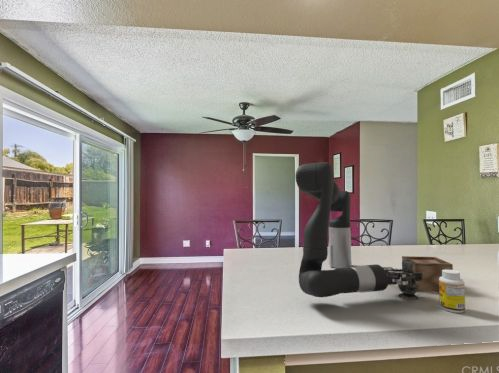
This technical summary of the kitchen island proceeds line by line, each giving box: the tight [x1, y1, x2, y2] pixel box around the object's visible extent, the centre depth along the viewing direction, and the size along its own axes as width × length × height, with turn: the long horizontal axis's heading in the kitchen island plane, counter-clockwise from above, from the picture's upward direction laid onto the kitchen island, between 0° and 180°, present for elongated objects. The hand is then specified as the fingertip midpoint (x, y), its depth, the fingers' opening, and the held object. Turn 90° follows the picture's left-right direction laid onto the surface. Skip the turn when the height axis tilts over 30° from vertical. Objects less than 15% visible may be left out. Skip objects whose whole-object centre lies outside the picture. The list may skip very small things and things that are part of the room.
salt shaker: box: [396, 257, 419, 301], centre depth 85 cm, size 6×6×12 cm
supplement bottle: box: [438, 269, 466, 314], centre depth 75 cm, size 6×6×10 cm
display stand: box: [401, 255, 454, 293], centre depth 94 cm, size 11×11×9 cm
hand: (415, 274), depth 85 cm, fingers open, 4 cm apart
